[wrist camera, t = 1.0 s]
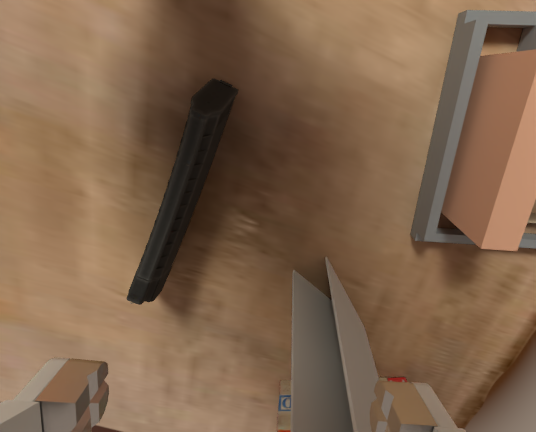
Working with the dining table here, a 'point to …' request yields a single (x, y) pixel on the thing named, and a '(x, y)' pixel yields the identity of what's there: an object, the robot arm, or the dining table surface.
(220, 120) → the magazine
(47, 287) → the dining table surface
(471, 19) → the rack
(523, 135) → the salmon brown rectangular block
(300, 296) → the brochure
